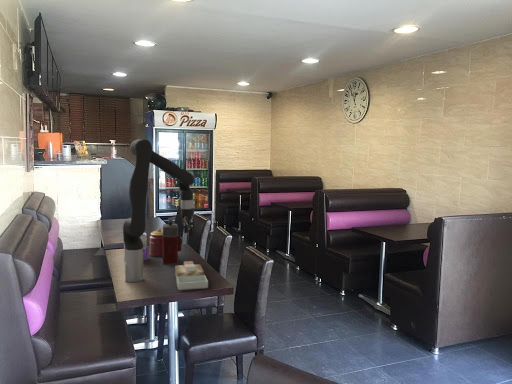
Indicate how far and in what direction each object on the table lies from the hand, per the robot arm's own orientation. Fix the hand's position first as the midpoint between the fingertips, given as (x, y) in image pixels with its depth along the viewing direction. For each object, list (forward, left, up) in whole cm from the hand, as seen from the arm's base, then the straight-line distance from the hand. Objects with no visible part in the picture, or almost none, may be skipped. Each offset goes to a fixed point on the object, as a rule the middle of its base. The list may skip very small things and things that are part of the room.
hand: (188, 234), depth 235 cm
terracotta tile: (-1, -11, -16) cm, 20 cm away
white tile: (-1, -17, -16) cm, 23 cm away
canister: (-15, +37, -21) cm, 46 cm away
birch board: (-1, -15, -21) cm, 25 cm away
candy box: (-30, +28, -21) cm, 46 cm away
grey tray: (-1, -28, -21) cm, 35 cm away
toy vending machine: (-8, +17, -21) cm, 29 cm away
